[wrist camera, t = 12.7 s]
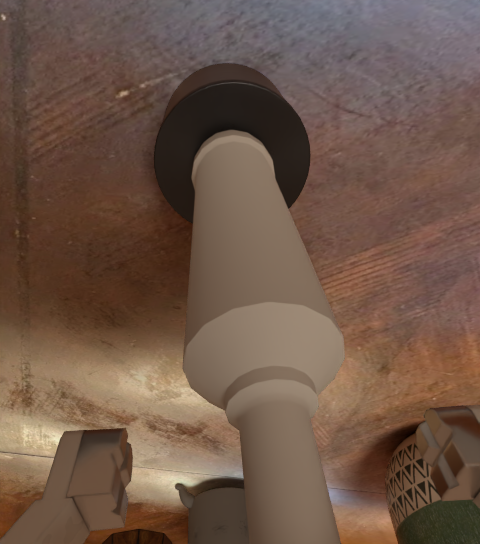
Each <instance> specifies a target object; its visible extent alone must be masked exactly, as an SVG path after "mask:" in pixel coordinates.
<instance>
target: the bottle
mask: <svg viewBox="0 0 480 544" xmlns="http://www.w3.org/2000/svg"><path fill="white" fill-rule="evenodd" d="M192 182H193V185H194V189H195V202H194V216H193V230H192V244H191V258H190V272H189V286H188V300H187V314H186V328H185V342H184V356H183V371H184V373H185V375H186V378H187V380H188V382H189V384H190V387H191V388H192V389H193V390H194V391H195V392H197V393H198V394H199V395H201V396H202V397H203V398H204V399H206V400H207V401H208V402H209V403H211V404H213V405H215V406H217V407H219V408H221V409H223V410H225V413H226V416H227V418H228V421H229V423H230V424H231V425H233V426H234V427H235V428H236V429H238V430H239V431H240V442H241V453H242V464H243V475H244V486H245V498H246V509H247V520H248V531H249V542H250V544H341V542H340V538H339V534H338V529H337V525H336V521H335V517H334V513H333V509H332V505H331V501H330V497H329V493H328V489H327V485H326V481H325V477H324V473H323V468H322V464H321V460H320V456H319V452H318V448H317V444H316V440H315V436H314V432H313V428H312V424H311V420H310V419H311V418H312V417H313V416H314V414H315V412H316V411H317V409H318V407H319V404H318V395H319V394H320V393H321V392H322V391H323V390H324V389H325V388H326V387H327V386H328V385H329V384H330V383H331V382H332V381H333V380H334V378H335V376H336V374H337V373H338V371H339V369H340V367H341V365H342V363H343V361H344V359H345V355H344V337H343V335H342V332H341V330H340V328H339V325H338V323H337V321H336V319H335V316H334V314H333V312H332V309H331V307H330V305H329V302H328V300H327V298H326V295H325V293H324V291H323V288H322V286H321V284H320V281H319V279H318V277H317V274H316V272H315V270H314V267H313V265H312V263H311V260H310V258H309V256H308V254H307V251H306V249H305V247H304V244H303V242H302V240H301V237H300V235H299V233H298V230H297V228H296V226H295V223H294V221H293V219H292V216H291V214H290V212H289V209H288V207H287V205H286V202H285V200H284V198H283V195H282V193H281V191H280V189H279V186H278V184H277V182H276V179H275V172H274V166H273V160H272V158H271V156H270V154H269V153H268V151H267V150H266V148H265V147H264V145H263V143H262V142H261V141H259V140H258V139H256V138H255V137H253V136H252V135H250V134H249V133H247V132H242V131H237V130H227V131H223V132H218V133H216V134H214V135H213V136H211V137H210V138H209V139H207V140H206V141H204V142H203V144H202V145H201V147H200V149H199V150H198V152H197V154H196V155H195V157H194V163H193V170H192Z"/></svg>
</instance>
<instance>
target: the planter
mask: <svg viewBox="0 0 480 544" xmlns="http://www.w3.org/2000/svg"><path fill="white" fill-rule="evenodd" d="M430 473H431V466H430V465H428V464H427V463H426V462H425V461H424V460H423V459H422V457H421V455H420V453H419V451H418V448H417V444H416V433H414V434H412V435H411V436H409V437H408V438H406V439H405V440H404V441H402V442H401V443H400V445H399V446H398V447H397V448H396V450H395V451H394V453H393V455H392V456H391V459H390V461H389V463H388V467H387V470H386V476H385V489H386V498H387V505H388V509H389V513H390V517H391V521H392V524H393V527H394V531H395V534H396V538H397V541H398V544H480V508H479V507H478V506H477V505H476V504H475V503H474V502H473V500H474V499H473V500H454V501H442V500H441V498H440V496H439V494H438V492H437V490H436V488H435V485H434V483H433V481H432V479H431V477H430Z"/></svg>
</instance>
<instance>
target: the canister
mask: <svg viewBox="0 0 480 544" xmlns="http://www.w3.org/2000/svg"><path fill="white" fill-rule="evenodd" d="M227 130H237V131H242V132H247V133H249V134H250V135H252V136H253V137H255V138H256V139H258V140H259V141H261V142H262V143H263V145H264V147H265V148H266V150H267V151H268V153H269V154H270V156H271V158H272V160H273V166H274V172H275V179H276V182H277V184H278V186H279V189H280V191H281V193H282V195H283V198H284V200H285V202H286V205H287V207H288V209H289V208H290V207H291V206H292V204H293V203H294V202H295V201H296V199H297V198H298V196H299V195H300V193H301V191H302V189H303V187H304V185H305V182H306V179H307V176H308V172H309V167H310V145H309V140H308V135H307V133H306V130H305V127H304V125H303V123H302V121H301V119H300V117H299V116H298V114H297V113H296V112H295V110H294V109H293V108H292V106H291V105H290V104H289V103H288V102H287V101H286V100H285V99H284V98H283V96H282V95H281V93H280V92H279V91H278V89H277V88H276V86H275V85H274V84H273V83H272V82H271V81H270V80H269V79H268V78H267V77H265V76H264V75H263V74H261V73H260V72H258V71H256V70H254V69H252V68H249V67H247V66H243V65H239V64H232V63H223V64H215V65H210V66H207V67H205V68H202V69H200V70H198V71H196V72H194V73H193V74H191V75H190V76H189V77H187V78H186V79H185V80H184V81H183V82H182V83H181V84H180V85H179V86H178V88H177V89H176V90H175V92H174V93H173V95H172V97H171V99H170V101H169V103H168V106H167V108H166V112H165V116H164V120H163V123H162V125H161V128H160V130H159V133H158V136H157V140H156V144H155V151H154V168H155V173H156V178H157V181H158V184H159V187H160V189H161V191H162V193H163V195H164V197H165V198H166V200H167V201H168V203H169V204H170V205H171V206H172V208H173V209H174V210H175V211H176V212H177V213H178V214H180V215H181V216H182V217H183V218H185V219H186V220H187V221H189V222H190V223H192V224H193V216H194V202H195V189H194V185H193V182H192V170H193V163H194V157H195V155H196V154H197V152H198V150H199V149H200V147H201V145H202V144H203V142H204V141H206V140H207V139H209V138H210V137H211V136H213V135H214V134H216V133H218V132H223V131H227Z"/></svg>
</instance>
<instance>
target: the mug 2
mask: <svg viewBox="0 0 480 544" xmlns="http://www.w3.org/2000/svg"><path fill="white" fill-rule="evenodd" d="M175 488H176V489H177V490H179V495H180V499H181V501H182V503H183V504H184V505H185V506H186V507H187V508H189V521H188V544H250V542H249V531H248V520H247V509H246V498H245V489H241V488H232V487H226V488H217V489H212V490H208V491H205V492H203V493H201V494H199V495H197V496H196V497H195V496H194V495H192V494H190V493H189V492H187V490H186V489H185V488H184V486H182V485H181V484H176V486H175Z"/></svg>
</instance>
